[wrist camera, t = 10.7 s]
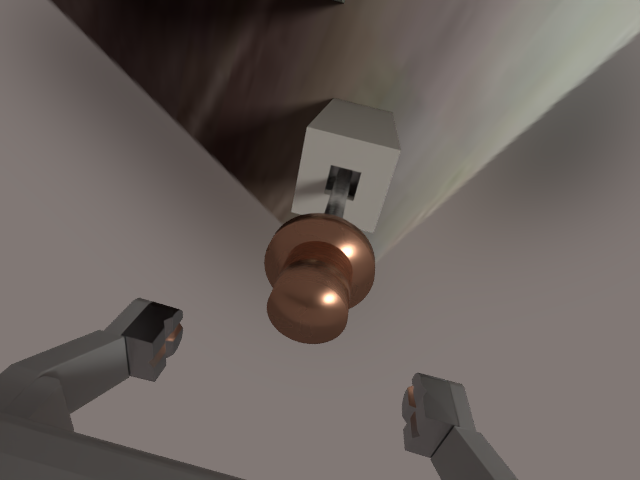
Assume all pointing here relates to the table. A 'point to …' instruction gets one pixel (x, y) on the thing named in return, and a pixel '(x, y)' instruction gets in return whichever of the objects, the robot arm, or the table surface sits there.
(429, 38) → the table surface
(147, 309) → the robot arm
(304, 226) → the terracotta plunger
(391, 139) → the block
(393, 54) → the table surface
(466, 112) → the table surface
